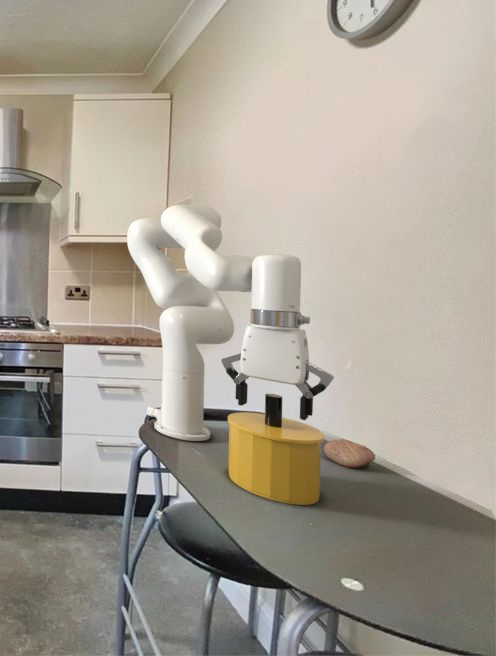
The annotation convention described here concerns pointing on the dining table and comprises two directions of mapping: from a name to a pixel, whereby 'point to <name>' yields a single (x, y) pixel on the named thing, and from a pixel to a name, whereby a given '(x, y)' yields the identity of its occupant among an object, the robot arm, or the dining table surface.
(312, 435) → the lid
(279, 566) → the dining table surface
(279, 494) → the tin
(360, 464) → the bread roll
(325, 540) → the dining table surface
